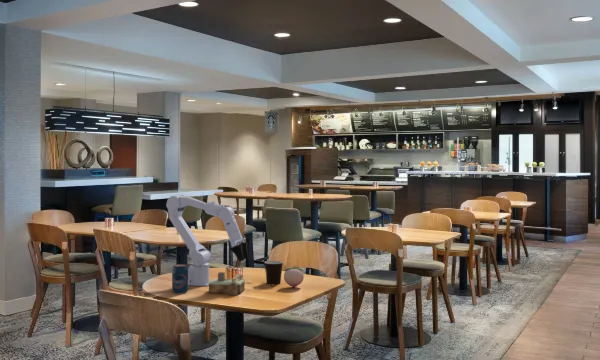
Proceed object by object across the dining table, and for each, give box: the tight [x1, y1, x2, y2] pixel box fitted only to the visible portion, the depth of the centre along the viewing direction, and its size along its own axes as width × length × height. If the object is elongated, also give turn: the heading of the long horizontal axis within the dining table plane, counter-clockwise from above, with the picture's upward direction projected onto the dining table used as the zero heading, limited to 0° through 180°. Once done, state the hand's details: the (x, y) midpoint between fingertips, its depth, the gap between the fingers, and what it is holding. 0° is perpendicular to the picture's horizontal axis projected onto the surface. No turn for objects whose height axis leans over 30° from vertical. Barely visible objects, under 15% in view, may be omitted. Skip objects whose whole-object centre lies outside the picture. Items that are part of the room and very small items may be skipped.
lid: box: [209, 271, 245, 285], centre depth 254 cm, size 14×8×5 cm, turn 81°
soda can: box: [171, 263, 189, 294], centre depth 253 cm, size 7×7×12 cm
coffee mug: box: [264, 260, 284, 286], centre depth 273 cm, size 12×9×10 cm
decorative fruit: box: [283, 267, 305, 288], centre depth 263 cm, size 9×8×10 cm
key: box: [231, 274, 244, 283], centre depth 254 cm, size 3×10×2 cm, turn 171°
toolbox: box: [208, 278, 246, 297], centre depth 254 cm, size 14×13×5 cm
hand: (244, 259), depth 264 cm, fingers open, 7 cm apart
